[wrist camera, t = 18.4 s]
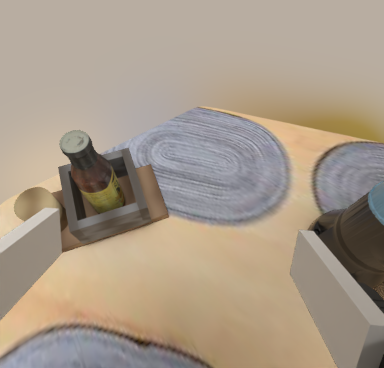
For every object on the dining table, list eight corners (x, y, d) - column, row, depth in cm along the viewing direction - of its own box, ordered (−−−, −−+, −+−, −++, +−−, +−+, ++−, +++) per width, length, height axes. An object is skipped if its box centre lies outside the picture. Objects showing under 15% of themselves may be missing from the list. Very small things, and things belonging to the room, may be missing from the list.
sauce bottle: (132, 206, 55) (109, 147, 37) (104, 224, 53) (65, 171, 35) (115, 183, 57) (85, 117, 39) (87, 199, 55) (43, 138, 37)
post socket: (151, 167, 61) (145, 139, 52) (169, 219, 56) (166, 198, 47) (37, 200, 57) (11, 176, 48) (45, 260, 51) (17, 246, 42)
